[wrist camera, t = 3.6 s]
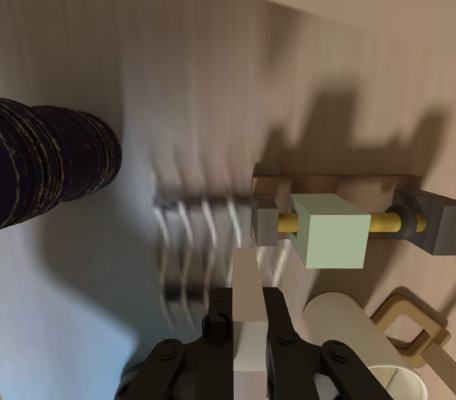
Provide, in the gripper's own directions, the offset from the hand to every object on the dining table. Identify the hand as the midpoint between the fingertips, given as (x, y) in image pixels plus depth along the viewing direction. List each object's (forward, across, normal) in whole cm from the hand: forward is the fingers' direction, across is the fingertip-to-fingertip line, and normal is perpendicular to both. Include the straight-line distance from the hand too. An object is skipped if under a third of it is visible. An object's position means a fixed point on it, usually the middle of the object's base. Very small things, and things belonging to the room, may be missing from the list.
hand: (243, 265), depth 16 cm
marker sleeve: (+12, +8, 0) cm, 14 cm away
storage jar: (+15, -19, +7) cm, 26 cm away
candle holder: (+15, +14, -17) cm, 27 cm away
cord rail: (+15, +12, 0) cm, 19 cm away
